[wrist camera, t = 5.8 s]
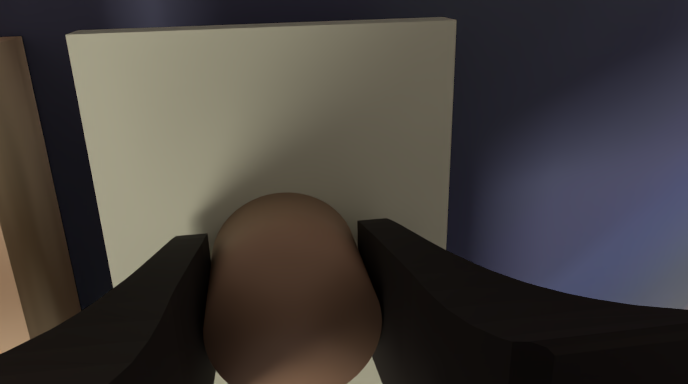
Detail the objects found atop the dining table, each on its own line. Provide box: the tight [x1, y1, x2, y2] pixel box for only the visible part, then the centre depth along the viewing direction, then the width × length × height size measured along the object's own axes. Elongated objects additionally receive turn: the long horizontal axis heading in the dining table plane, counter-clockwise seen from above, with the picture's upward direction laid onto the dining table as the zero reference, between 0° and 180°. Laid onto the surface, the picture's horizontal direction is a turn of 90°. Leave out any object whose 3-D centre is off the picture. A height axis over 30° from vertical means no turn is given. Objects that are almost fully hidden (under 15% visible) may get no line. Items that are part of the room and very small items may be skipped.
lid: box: [66, 17, 457, 384], centre depth 12 cm, size 9×7×4 cm
